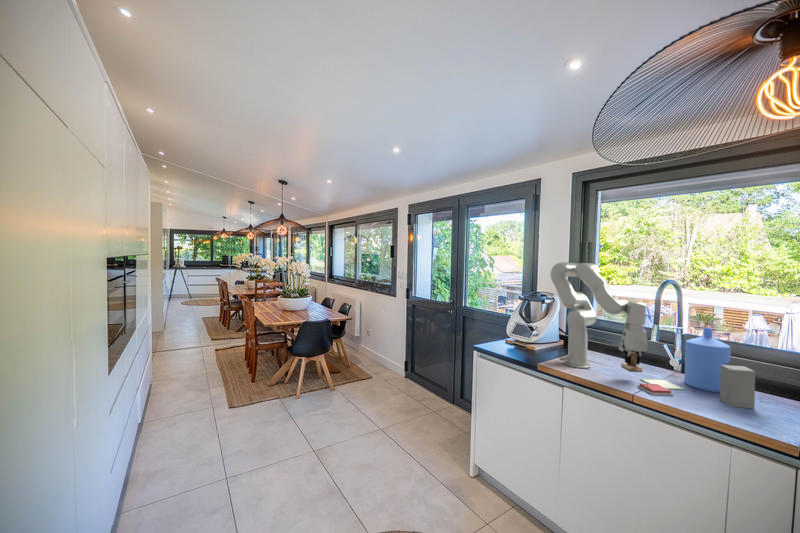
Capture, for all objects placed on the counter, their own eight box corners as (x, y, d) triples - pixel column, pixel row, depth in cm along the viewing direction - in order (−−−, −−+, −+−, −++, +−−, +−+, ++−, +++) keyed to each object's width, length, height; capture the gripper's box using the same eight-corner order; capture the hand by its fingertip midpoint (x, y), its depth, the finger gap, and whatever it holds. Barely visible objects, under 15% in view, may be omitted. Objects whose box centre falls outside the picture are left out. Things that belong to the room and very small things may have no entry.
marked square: (658, 389, 146) (658, 388, 146) (639, 379, 158) (639, 378, 158) (685, 389, 146) (685, 389, 146) (664, 380, 158) (664, 379, 158)
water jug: (694, 390, 146) (696, 330, 146) (677, 379, 161) (679, 324, 161) (738, 395, 141) (740, 333, 140) (717, 383, 155) (718, 327, 155)
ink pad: (652, 395, 139) (652, 390, 139) (637, 387, 148) (637, 383, 148) (673, 395, 139) (673, 391, 139) (657, 387, 148) (657, 383, 148)
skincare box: (743, 403, 133) (744, 365, 133) (756, 410, 126) (757, 371, 126) (718, 400, 136) (719, 363, 136) (729, 406, 129) (730, 368, 129)
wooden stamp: (629, 371, 154) (630, 354, 153) (621, 367, 160) (622, 351, 159) (642, 372, 154) (643, 355, 153) (633, 367, 160) (634, 351, 159)
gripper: (622, 327, 152) (619, 365, 153) (657, 329, 152) (654, 367, 152) (612, 324, 160) (610, 360, 160) (646, 326, 159) (643, 361, 160)
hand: (631, 363), depth 156 cm, fingers closed on wooden stamp, 3 cm apart
